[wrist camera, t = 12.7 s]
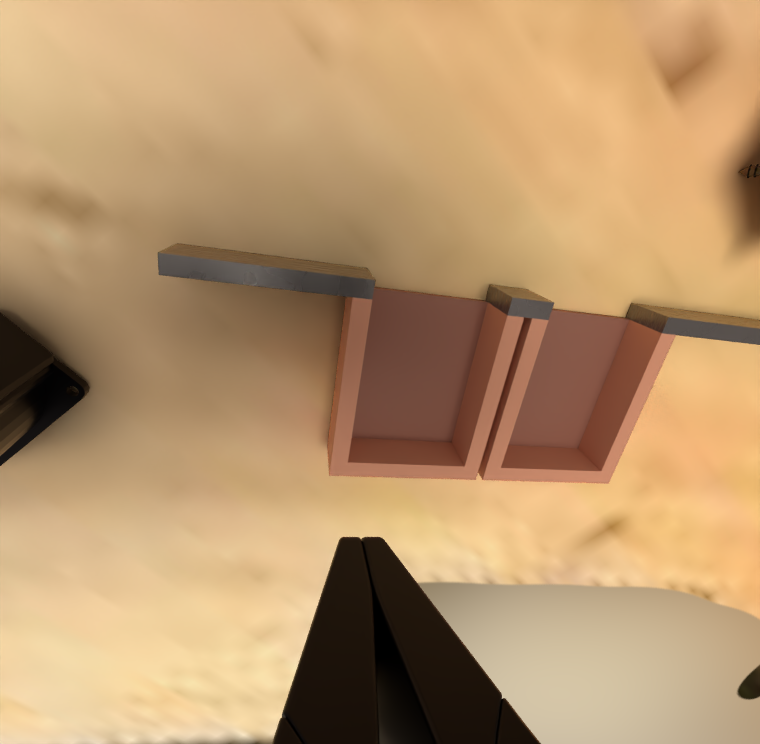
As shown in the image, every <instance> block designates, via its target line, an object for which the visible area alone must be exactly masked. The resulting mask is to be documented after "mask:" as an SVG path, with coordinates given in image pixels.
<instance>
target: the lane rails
mask: <svg viewBox="0 0 760 744" xmlns="http://www.w3.org/2000/svg"><path fill="white" fill-rule="evenodd" d="M158 267H159V275H164V276H173V277H182V278H190V279H199V280H207V281H216V282H225V283H233V284H242V285H250V286H259V287H268V288H276V289H285V290H293V291H302V292H311V293H319V294H328V295H336V296H345V297H353V298H362V299H371V300H372V299H373V292H374V286H375V279H374V277H373V276H372V275H371V273H370V272H369V270H368V269H367V268H360V267H353V266H345V265H337V264H330V263H322V262H314V261H307V260H299V259H292V258H284V257H276V256H269V255H261V254H254V253H246V252H238V251H231V250H223V249H216V248H208V247H200V246H193V245H185V244H178V243H177V244H175V245H173V246H171V247H169V248H167V249H164V250H162V251H160V252H158ZM486 301H487V302H488V303H490V304H491V305H493V306H494V307H496V308H497V309H499V310H500V311H502V312H503V313H505V314H506V315H508V316H517V317H525V318H534V319H543V320H549V317H550V314H551V311H552V308H553V305H554V302H552V301H550V300H548V299H546V298H544V297H542V296H540V295H538V294H535V293H533V292H531V291H529V290H527V289H520V288H512V287H505V286H497V285H490V286H489V289H488V293H487V297H486ZM626 318H627V319H629V320H632V321H634V322H636V323H639V324H641V325H643V326H646V327H648V328H650V329H653V330H655V331H657V332H660V333H663V334H671V335H680V336H689V337H697V338H706V339H714V340H723V341H732V342H740V343H749V344H757V345H760V320H755V319H748V318H740V317H733V316H725V315H717V314H710V313H702V312H695V311H687V310H679V309H672V308H664V307H657V306H649V305H641V304H634V303H632V304H631V306H630V309H629V311H628V314H627V316H626Z"/></svg>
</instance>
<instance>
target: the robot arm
mask: <svg viewBox="0 0 760 744" xmlns="http://www.w3.org/2000/svg"><path fill="white" fill-rule="evenodd" d="M70 386H74V387H76V388H77V389H78V391H79V392H74V391H73V390H72V389H71V387H70ZM88 392H89V386H88V384H87V383H86V382H85V381H84V380H83V379H82V378H80V377H79V376H78V375H76V374H75V373H74V372H73V371H71V370H70V369H69V368H68V367H66V366H65V365H64V364H63V363H61V362H60V361H59V360H57V359H56V358H55V357H54V356H53V355H52V354H51V353H50V352H49V351H48V350H46V349H45V348H44V347H43V346H41V345H40V344H39V343H38V342H36V341H35V340H34V339H33V338H31V337H30V336H29V335H27V334H26V333H25V332H24V331H22V330H21V329H20V328H19V327H17V326H16V325H15V324H14V323H12V322H11V321H10V320H8V319H7V318H6V317H5V316H3V315H2V314H1V313H0V466H1V465H2V464H3V463H5V462H6V461H7V460H8V459H9V458H11V457H12V456H13V455H14V454H16V453H17V452H18V451H19V450H20V449H22V448H23V447H24V446H25V445H27V444H28V443H29V442H30V441H31V440H33V439H34V438H35V437H36V436H38V435H39V434H40V433H41V432H42V431H44V430H45V429H46V428H47V427H48V426H50V425H51V424H52V423H53V422H55V421H56V420H57V419H58V418H59V417H61V416H62V415H63V414H64V413H66V412H67V411H68V410H69V409H70V408H72V407H73V406H74V405H75V404H77V403H78V402H79V401H80V400H81V399H83V398H84V397H85V396H86V395H87V393H88ZM272 744H541V743H540V742H539V741H538V740H537V738H536V737H535V736H534V735H533V733H532V732H531V731H530V730H529V728H528V727H527V726H526V725H525V723H524V722H523V721H522V719H521V718H520V717H519V716H518V714H517V713H516V712H515V710H514V709H513V708H512V706H511V705H510V704H509V702H508V701H507V700H506V699H505V698H503V699H502V694H501V692H500V691H499V690H498V688H497V687H496V686H495V684H494V683H493V682H492V680H491V679H490V678H489V677H488V675H487V674H486V673H485V671H484V670H483V669H482V667H481V666H480V665H479V664H478V662H477V661H476V660H475V658H474V657H473V656H472V654H471V653H470V652H469V650H468V649H467V648H466V646H465V645H464V644H463V642H462V641H461V640H460V639H459V637H458V636H457V635H456V633H455V632H454V631H453V629H452V628H451V627H450V626H449V624H448V623H447V622H446V620H445V619H444V618H443V616H442V615H441V614H440V612H439V611H438V610H437V608H436V607H435V606H434V605H433V603H432V602H431V601H430V599H429V598H428V597H427V595H426V594H425V593H424V591H423V590H422V589H421V588H420V586H419V585H418V584H417V582H416V581H415V580H414V578H413V577H412V576H411V574H410V573H409V572H408V571H407V569H406V568H405V567H404V565H403V564H402V563H401V561H400V560H399V559H398V557H397V556H396V555H395V553H394V552H393V551H392V550H391V548H390V547H389V546H388V544H387V543H386V542H385V540H384V539H382V538H381V537H364V538H362V539H360V538H359V537H342V538H340V540H339V542H338V545H337V548H336V551H335V554H334V557H333V560H332V563H331V566H330V570H329V573H328V576H327V579H326V582H325V585H324V588H323V591H322V594H321V597H320V600H319V603H318V606H317V609H316V612H315V615H314V618H313V621H312V624H311V627H310V630H309V633H308V636H307V640H306V643H305V646H304V649H303V652H302V655H301V658H300V661H299V664H298V667H297V670H296V673H295V676H294V679H293V682H292V685H291V688H290V691H289V694H288V697H287V700H286V703H285V706H284V710H283V713H282V718H281V719H280V721H279V724H278V727H277V730H276V733H275V736H274V739H273V742H272Z"/></svg>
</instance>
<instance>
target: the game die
mask: <svg viewBox="0 0 760 744" xmlns="http://www.w3.org/2000/svg"><path fill="white" fill-rule="evenodd" d="M758 165H759V164H757V165H756V166H752V164H751V165H750V166H749V167H747V168H745V169H743V170H741V171H739V173H741V174H743V175H745V176H747V178H749V177H751V176H754V177H756V176H757V175H760V166H758Z"/></svg>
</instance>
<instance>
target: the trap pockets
mask: <svg viewBox="0 0 760 744" xmlns="http://www.w3.org/2000/svg"><path fill="white" fill-rule="evenodd" d="M675 336H676V335H671V334H663V333H660V332H657V331H655V330H653V329H650V328H648V327H646V326H643V325H641V324H639V323H636V322H634V321H632V320H629V319H627V318H622V317H614V316H606V315H598V314H589V313H581V312H573V311H565V310H557V309H552V311H551V314H550V317H549V320H543V319H534V318H525V317H517V316H508V315H506V314H505V313H503V312H502V311H500V310H499V309H497V308H496V307H494V306H493V305H491V304H490V303H488V302H487V301H483V300H475V299H467V298H459V297H451V296H443V295H435V294H426V293H418V292H410V291H402V290H394V289H386V288H378V287H374V292H373V299H372V300H371V299H362V298H353V297H346V301H345V309H344V317H343V325H342V333H341V341H340V349H339V357H338V365H337V373H336V381H335V389H334V397H333V404H332V412H331V420H330V428H329V436H328V444H327V449H328V463H329V476H361V477H396V478H431V479H466V480H476V477H477V473H479V474H480V476H481V478H482V480H502V481H537V482H572V483H607V484H609V482H610V479H611V477H612V475H613V473H614V471H615V468H616V466H617V464H618V462H619V460H620V457H621V455H622V453H623V451H624V448H625V446H626V444H627V442H628V440H629V437H630V435H631V433H632V431H633V429H634V426H635V424H636V422H637V420H638V418H639V415H640V413H641V411H642V409H643V406H644V404H645V402H646V400H647V398H648V395H649V393H650V391H651V389H652V387H653V384H654V382H655V380H656V378H657V376H658V373H659V371H660V369H661V367H662V364H663V362H664V360H665V358H666V356H667V353H668V351H669V349H670V347H671V345H672V342H673V340H674V338H675Z"/></svg>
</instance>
